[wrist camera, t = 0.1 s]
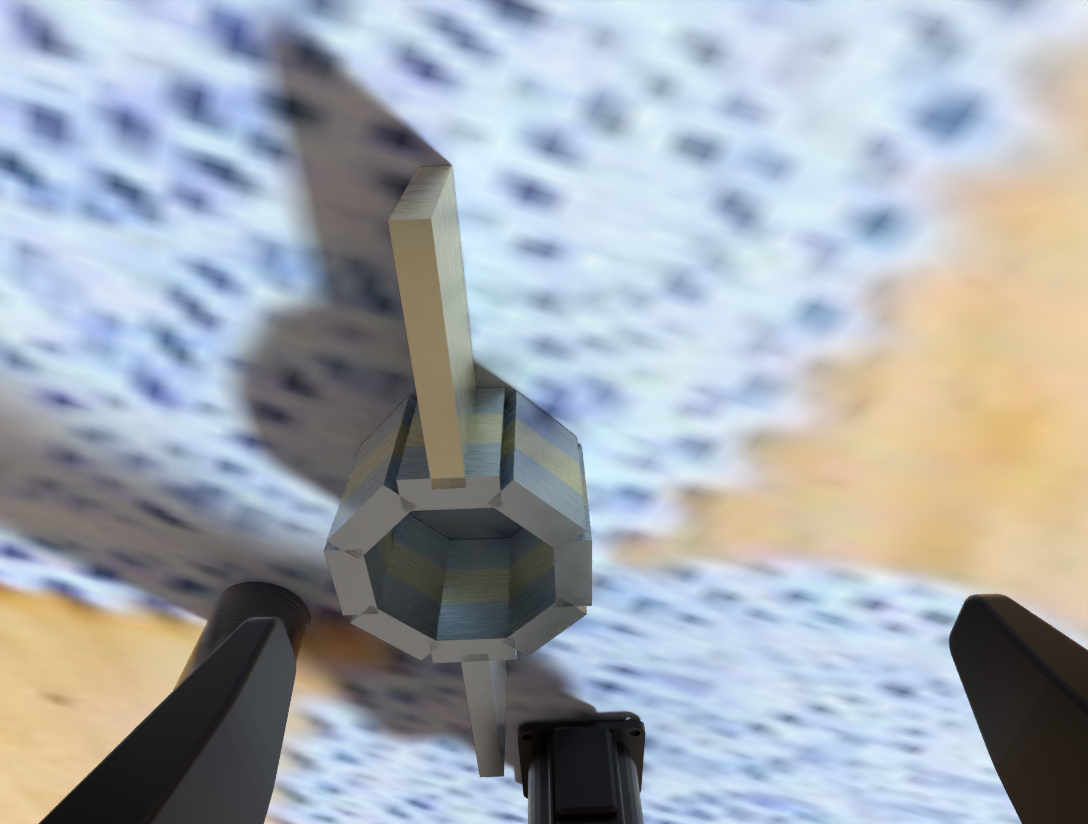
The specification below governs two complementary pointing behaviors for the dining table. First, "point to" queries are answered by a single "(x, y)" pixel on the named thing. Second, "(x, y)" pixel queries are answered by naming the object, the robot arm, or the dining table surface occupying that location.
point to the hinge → (460, 493)
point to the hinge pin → (245, 605)
